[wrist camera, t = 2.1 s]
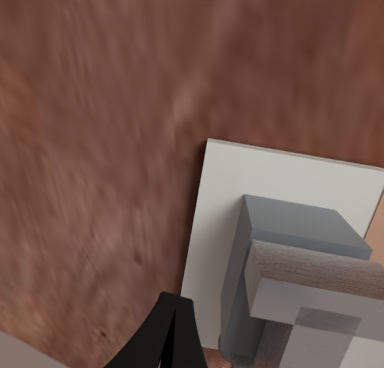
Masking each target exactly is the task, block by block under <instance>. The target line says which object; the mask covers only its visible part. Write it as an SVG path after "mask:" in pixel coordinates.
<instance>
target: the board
mask: <svg viewBox="0 0 384 368" xmlns="http://www.w3.org/2000/svg"><path fill="white" fill-rule="evenodd" d="M244 194H249V195H254V196H260V197H266V198H271V199H277V200H282V201H288V202H294V203H299V204H305V205H311V206H316V207H322V208H327V209H333V210H336V211H337V212H338V213H339V214H340V215H341V216H342V217H343V218H344V219H345V220H346V221H347V223H348V224H349V225H350V226H351V227H352V228H353V229H354V230H355V231H356V232H357V233H358V234H359V235H360V236H361V238H362V239H363V240H364V241H365V242H366V243H367V244H368V245H369V246H370V247H371V248H372V249H373V251H372V254H371V256H370V258H369V261H373V262H379V263H380V264H381V265H382V266H383V268H384V168H380V167H374V166H368V165H362V164H356V163H350V162H345V161H339V160H333V159H327V158H321V157H315V156H310V155H304V154H298V153H292V152H286V151H280V150H275V149H269V148H263V147H257V146H251V145H245V144H240V143H234V142H228V141H222V140H216V139H210V138H208V141H207V147H206V152H205V158H204V164H203V170H202V175H201V181H200V187H199V192H198V198H197V204H196V210H195V215H194V221H193V227H192V233H191V238H190V244H189V250H188V255H187V261H186V267H185V273H184V278H183V284H182V290H181V296H182V297H186V298H190V299H192V300H193V302H194V313H195V319H196V325H197V330H198V334H199V338H200V342H201V346H202V347H205V348H210V349H215V350H219V352H220V353H221V355H222V356H223V357H224V358H225V359H226V360H227V361H228V362H230V353H228V352H223V351H221V292H222V288H223V284H224V279H225V275H226V271H227V267H228V262H229V258H230V254H231V249H232V245H233V241H234V237H235V232H236V228H237V224H238V220H239V215H240V211H241V207H242V202H243V198H244ZM230 363H231V362H230ZM339 368H384V342H381V341H376V340H371V339H366V338H360V337H355V336H354V337H353V339H352V341H351V343H350V345H349V348H348V350H347V352H346V354H345V356H344V359H343V361H342V363H341V365H340V367H339Z"/></svg>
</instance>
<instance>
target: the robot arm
mask: <svg viewBox="0 0 384 368" xmlns="http://www.w3.org/2000/svg"><path fill="white" fill-rule="evenodd" d="M160 359H161V363H160ZM159 363H160V368H208V367H207V364H206V360H205V357H204V354H203V350H202V346H201V342H200V338H199V334H198V330H197V325H196V319H195V313H194V302H193V300H192V299H190V298H186V297H182V296H179V295H175V294H171V293H168V292H162V293H160V296H159V298H158V300H157V302H156V304H155V306H154V307H153V309H152V311H151V312H150V314H149V315H148V317H147V318H146V319H145V321H144V322H143V324H142V325H141V326H140V328H139V329H138V330H137V331H136V333H135V334H134V335H133V336H132V338H131V339H130V340H129V341H128V342H127V344H126V345H125V346H124V347H123V348H122V349H121V350H120V351H119V352H118V354H117V355H116V356H115V357H114V358H113V359H112V360H111V361H110V362H109V363H108V364H107V365H106V366H105V367H104V368H158V366H159Z"/></svg>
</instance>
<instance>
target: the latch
mask: <svg viewBox="0 0 384 368" xmlns="http://www.w3.org/2000/svg"><path fill="white" fill-rule="evenodd" d="M244 274H245V282H246V290H247V297H248V305H249V313H250V316H252V317H257V318H262V319H267V322H266V325H265V329H264V332H263V335H262V338H261V341H260V344H259V348H258V351H257V354H256V357H255V358H253V357H248V356H243V355H238V354H233V353H230V362H231V368H339V367H340V365H341V363H342V361H343V359H344V356H345V354H346V352H347V350H348V348H349V345H350V343H351V341H352V339H353V337H354V336H355V337H360V338H366V339H371V340H376V341H381V342H384V268H383V266H382V265H381V264H380V263H379V262H373V261H368V260H362V259H357V258H351V257H346V256H340V255H335V254H330V253H324V252H319V251H313V250H308V249H302V248H297V247H291V246H286V245H280V244H275V243H270V242H264V241H259V240H253V241H252V245H251V248H250V252H249V256H248V260H247V264H246V268H245V272H244Z"/></svg>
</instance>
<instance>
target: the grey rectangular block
mask: <svg viewBox="0 0 384 368" xmlns="http://www.w3.org/2000/svg"><path fill="white" fill-rule="evenodd" d="M253 240H259V241H264V242H270V243H275V244H280V245H286V246H291V247H297V248H302V249H308V250H313V251H319V252H324V253H330V254H335V255H340V256H346V257H351V258H357V259H362V260H368V261H369V258H370V256H371V254H372V251H373V249H372V248H371V247H370V246H369V245H368V244H367V243H366V242H365V241H364V240H363V239H362V238H361V236H360V235H359V234H358V233H357V232H356V231H355V230H354V229H353V228H352V227H351V226H350V225H349V224H348V223H347V221H346V220H345V219H344V218H343V217H342V216H341V215H340V214H339V213H338V212H337V211H336V210H333V209H327V208H322V207H316V206H311V205H305V204H299V203H294V202H288V201H282V200H277V199H271V198H266V197H260V196H254V195H249V194H244V198H243V202H242V207H241V211H240V215H239V220H238V224H237V228H236V232H235V237H234V241H233V245H232V249H231V254H230V258H229V262H228V267H227V271H226V275H225V279H224V284H223V288H222V292H221V351H223V352H228V353H233V354H238V355H243V356H248V357H253V358H255V357H256V354H257V351H258V348H259V344H260V341H261V338H262V335H263V332H264V329H265V325H266V322H267V319H262V318H257V317H252V316H250V313H249V305H248V297H247V290H246V282H245V274H244V272H245V268H246V264H247V260H248V256H249V252H250V248H251V245H252V241H253Z"/></svg>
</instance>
